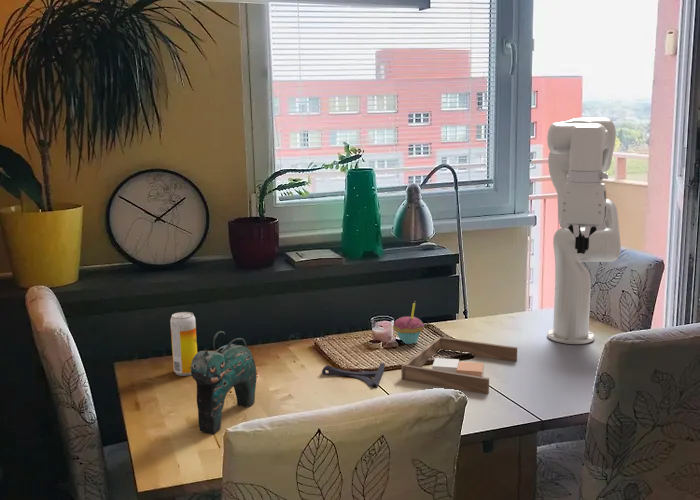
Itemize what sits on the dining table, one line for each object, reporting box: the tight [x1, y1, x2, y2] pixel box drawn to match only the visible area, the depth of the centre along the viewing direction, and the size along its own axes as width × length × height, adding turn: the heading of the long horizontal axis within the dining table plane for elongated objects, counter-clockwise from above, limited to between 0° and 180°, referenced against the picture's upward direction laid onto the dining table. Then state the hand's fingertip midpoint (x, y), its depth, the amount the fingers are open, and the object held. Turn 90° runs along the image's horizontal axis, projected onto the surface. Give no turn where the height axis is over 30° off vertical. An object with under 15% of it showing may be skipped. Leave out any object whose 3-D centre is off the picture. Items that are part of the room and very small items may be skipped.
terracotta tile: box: [456, 361, 485, 377], centre depth 183 cm, size 6×6×3 cm
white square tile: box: [431, 357, 460, 373], centre depth 186 cm, size 6×6×3 cm
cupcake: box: [392, 300, 425, 345], centre depth 210 cm, size 9×8×12 cm
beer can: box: [169, 311, 198, 377], centre depth 188 cm, size 6×6×15 cm
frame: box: [401, 336, 518, 395], centre depth 188 cm, size 25×22×4 cm
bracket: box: [321, 362, 386, 389], centre depth 185 cm, size 14×15×3 cm
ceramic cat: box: [190, 330, 258, 435], centre depth 160 cm, size 20×6×20 cm, turn 156°
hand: (581, 252), depth 184 cm, fingers closed
